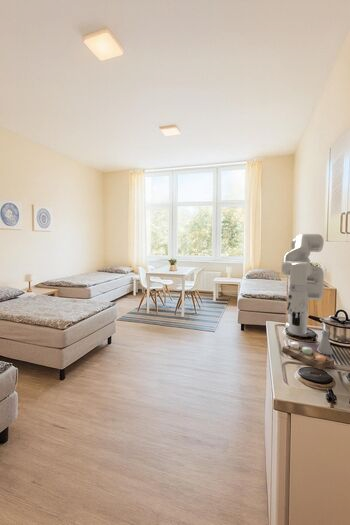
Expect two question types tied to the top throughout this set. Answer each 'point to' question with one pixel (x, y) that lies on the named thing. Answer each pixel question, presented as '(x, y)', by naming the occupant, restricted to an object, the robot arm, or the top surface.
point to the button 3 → (320, 358)
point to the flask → (325, 344)
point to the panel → (308, 357)
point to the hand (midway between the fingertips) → (295, 325)
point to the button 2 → (307, 351)
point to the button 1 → (294, 345)
